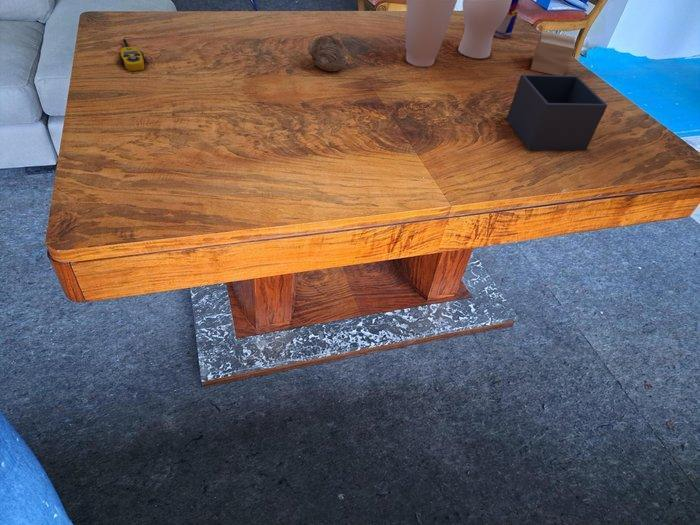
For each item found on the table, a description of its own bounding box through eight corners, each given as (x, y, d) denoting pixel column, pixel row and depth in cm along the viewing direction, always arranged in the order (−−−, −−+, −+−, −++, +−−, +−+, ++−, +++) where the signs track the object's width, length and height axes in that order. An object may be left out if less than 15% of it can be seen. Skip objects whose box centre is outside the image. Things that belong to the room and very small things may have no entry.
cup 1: (451, 70, 122) (468, -2, 111) (405, 72, 119) (418, -2, 108) (432, 49, 130) (446, -19, 119) (389, 51, 127) (399, -20, 115)
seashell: (315, 79, 113) (348, 74, 115) (314, 48, 108) (349, 43, 110) (303, 60, 119) (335, 55, 121) (302, 29, 114) (335, 25, 116)
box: (586, 150, 100) (607, 105, 94) (528, 150, 98) (546, 104, 92) (559, 118, 109) (577, 75, 102) (506, 118, 107) (521, 74, 100)
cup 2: (465, 62, 126) (482, -7, 115) (444, 44, 133) (459, -23, 122) (504, 60, 129) (524, -8, 118) (481, 42, 136) (499, -24, 125)
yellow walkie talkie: (122, 63, 105) (111, 35, 114) (124, 72, 106) (113, 43, 115) (147, 61, 107) (134, 33, 116) (148, 70, 108) (136, 42, 117)
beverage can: (495, 38, 139) (512, -22, 129) (489, 31, 143) (506, -28, 132) (512, 39, 140) (531, -20, 129) (506, 32, 144) (524, -27, 133)
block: (532, 58, 132) (542, 30, 127) (563, 64, 130) (574, 37, 126) (530, 69, 126) (540, 41, 121) (563, 77, 125) (574, 48, 120)
